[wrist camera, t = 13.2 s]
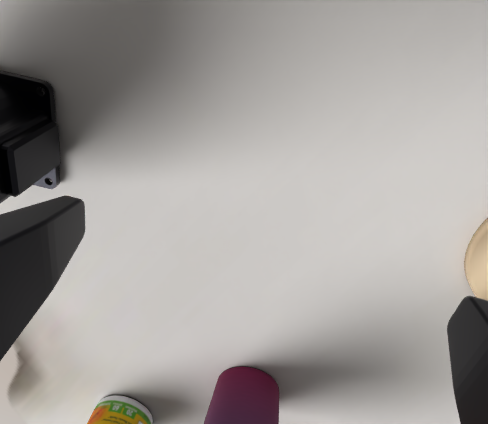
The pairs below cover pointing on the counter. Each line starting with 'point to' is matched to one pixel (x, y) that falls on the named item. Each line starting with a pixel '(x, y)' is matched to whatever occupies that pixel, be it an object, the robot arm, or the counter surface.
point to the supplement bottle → (120, 412)
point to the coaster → (478, 262)
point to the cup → (244, 398)
